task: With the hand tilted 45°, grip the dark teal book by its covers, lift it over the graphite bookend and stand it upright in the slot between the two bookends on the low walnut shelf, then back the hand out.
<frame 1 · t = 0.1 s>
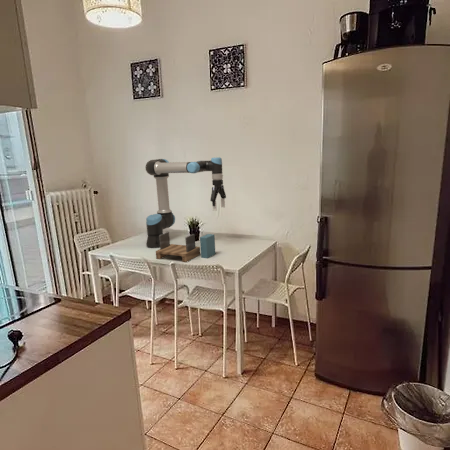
hand: (218, 208, 261), 28 cm above the table, tool pointing down, fingers open, 13 cm apart
book: (208, 255, 245), on the table
shelf: (178, 256, 246), on the table
light bulb box: (154, 234, 314), on the table
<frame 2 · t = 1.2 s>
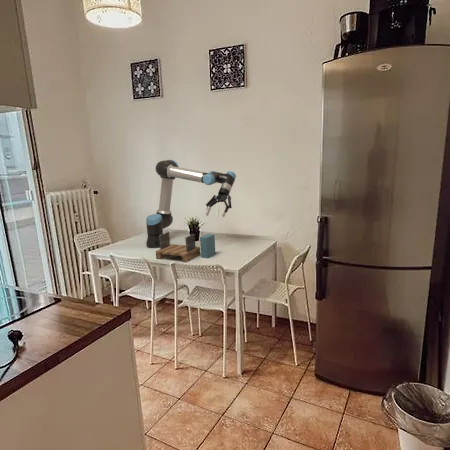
hand: (214, 215, 248), 26 cm above the table, tool tilted 45°, fingers open, 13 cm apart
nothing on the table moved.
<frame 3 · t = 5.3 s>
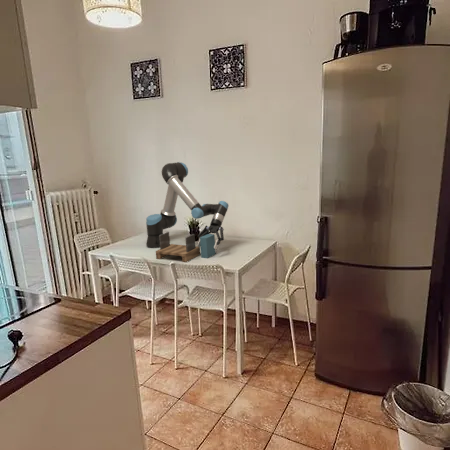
hand: (206, 247, 241), 6 cm above the table, tool tilted 45°, fingers open, 13 cm apart
nothing on the table moved.
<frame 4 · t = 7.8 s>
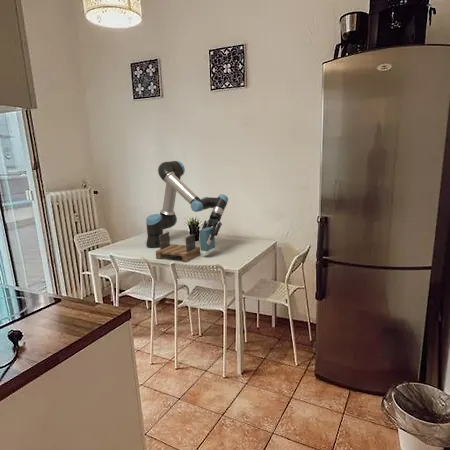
hand: (204, 243, 239), 10 cm above the table, tool tilted 45°, fingers closed on book, 5 cm apart
book: (207, 248, 244), point 5 cm above the table, touching gripper
everything else where it was.
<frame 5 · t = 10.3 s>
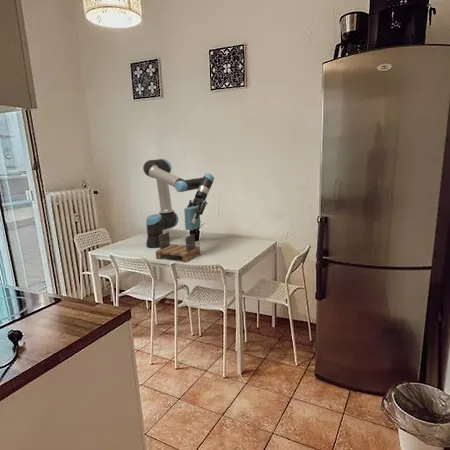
hand: (189, 222, 236), 25 cm above the table, tool tilted 45°, fingers closed on book, 5 cm apart
book: (193, 228, 240), point 20 cm above the table, touching gripper
everything else where it was.
when the fingers open (11 cm above the table, at t = 14.6 s): book stays where it is, resting on shelf.
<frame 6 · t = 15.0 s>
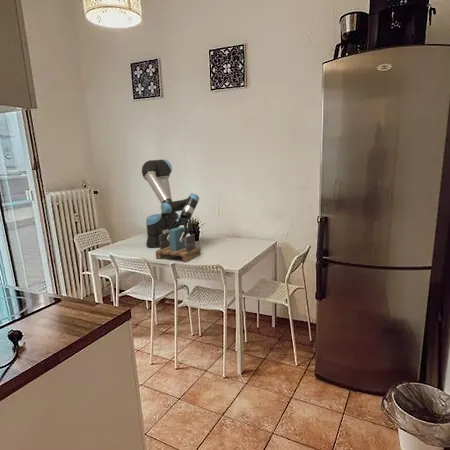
hand: (174, 240, 241), 12 cm above the table, tool tilted 45°, fingers open, 10 cm apart
book: (177, 248, 245), point 5 cm above the table, touching shelf
everything else where it was.
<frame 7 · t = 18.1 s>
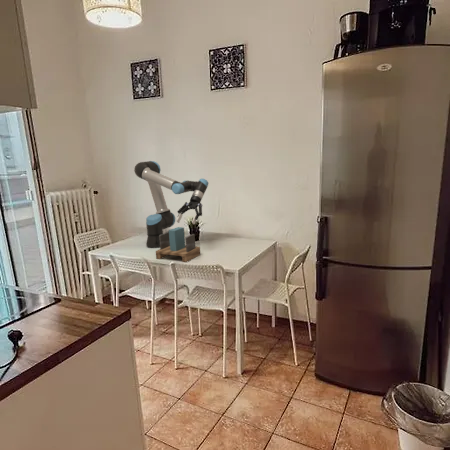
hand: (185, 222, 249), 22 cm above the table, tool tilted 45°, fingers open, 13 cm apart
nothing on the table moved.
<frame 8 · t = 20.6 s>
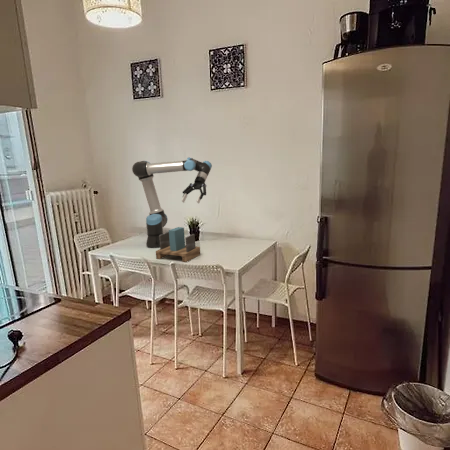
hand: (190, 202, 261), 34 cm above the table, tool tilted 45°, fingers open, 13 cm apart
nothing on the table moved.
at the end: book inside the target area on the shelf (0.0 cm from its centre), point 5.5 cm above the shelf's base; book tilted 0°; the gripper is holding nothing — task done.
